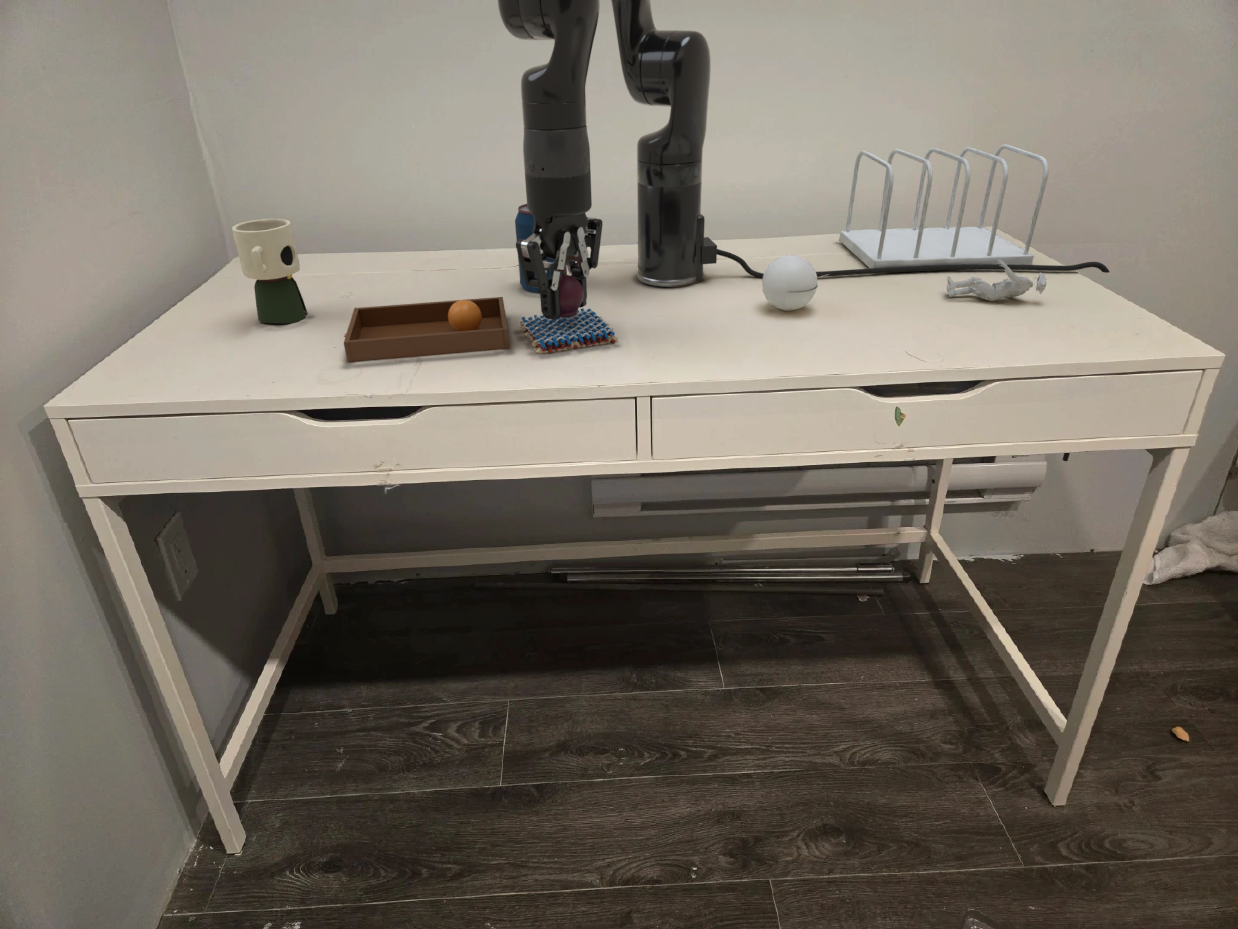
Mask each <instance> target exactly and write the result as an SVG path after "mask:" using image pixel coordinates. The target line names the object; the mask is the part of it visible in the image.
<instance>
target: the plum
mask: <svg viewBox="0 0 1238 929" xmlns="http://www.w3.org/2000/svg"><path fill="white" fill-rule="evenodd" d="M561 273H562V275H560V276H559V283H558V288H557V289H559V302H560V317H562V318H566V317H572V316H575V315H577V314H578V310H579V309H580V306H581V304H582V302H583V298H584V291H583V288H582V285H581V284H580V282H579V281H578V280H577V279H576V278H574V277H572V276H571V274H567V275H565V270H564V269H563V271H561Z"/></svg>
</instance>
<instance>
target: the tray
mask: <svg viewBox="0 0 1238 929" xmlns="http://www.w3.org/2000/svg"><path fill="white" fill-rule="evenodd" d="M460 300H461V299H457V300H455V299H454V300H443V301H430V302H415V303H404V304H403V303H402V304H401V303H400V304H390V305H377V306H376V305H375V306H365V307H364V306H363V307H354V309H353V312H352V315H351V318H350V321H349V324H348V327H347V331H346V334H345V337H344V340H343V346H344V350H345V356H346V362H347V363H358V362H359V363H360V362H371V361H382V360H393V359H405V358H416V357H417V358H419V357H429V356H439V355H441V356H442V355H452V354H464V353H474V352H475V353H476V352H487V351H488V352H489V351H499V350H510V348H511V347H510V346H511V345H510V336H509V334H510V333H509V326H508V321H507V320H508V319H507V314H506V308H505V302H504V297H503V296H495V297H493V296H492V297H481V298H480V297H479V298H469V299H466V300H468V301H471V302H473V303H475V304H476V305H477V306H478V307H479V309H480V311H481V315H482V320H481V324H480V326H479V327H478V330H470V331H458V332H456V331H455V330H454V329H453V328H452V327H451V325H450V323H449V320H448V312H449V309H450V308H451V306H452V305H453V304H454V303H456V302H457V301H460Z"/></svg>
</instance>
